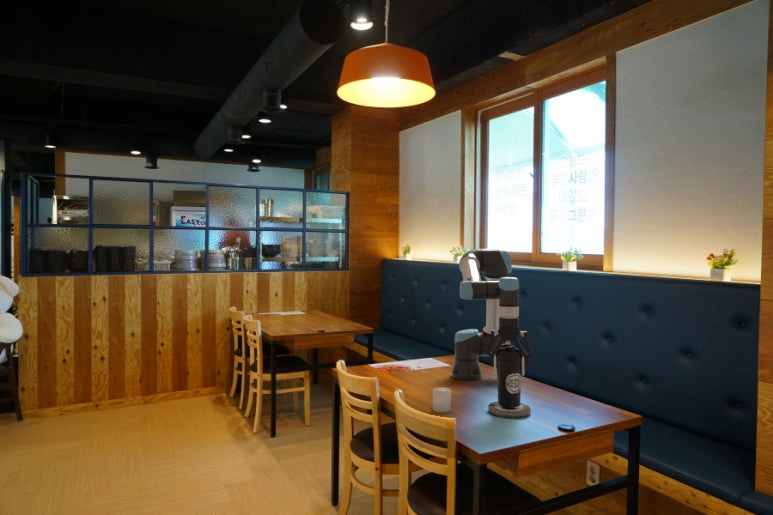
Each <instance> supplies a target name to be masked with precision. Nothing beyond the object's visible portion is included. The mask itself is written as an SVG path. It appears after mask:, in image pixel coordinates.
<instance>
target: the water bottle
mask: <svg viewBox="0 0 773 515" xmlns="http://www.w3.org/2000/svg"><path fill="white" fill-rule="evenodd" d="M523 357H524V356H523V355H522V353H521V351H520V349H519V348H518V346H517V345H511V343H510V344H501V345H500V349H499V350H498V351H497V352H496V376H497V377H496V380H497V383H496V385H497V402H498V404H499V405H501V406H504V407H518V406H520V403H521V396H522V395H521V394H522V358H523Z"/></svg>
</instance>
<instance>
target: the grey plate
mask: <svg viewBox="0 0 773 515" xmlns="http://www.w3.org/2000/svg"><path fill="white" fill-rule="evenodd" d="M487 409H488V410H487V411H488V413H489V414H490V415H491V416H494V417H497V418H501V419H511V420H519V419H520V420H521V419H526V418H528V417H530V416H531V411H532V410H531V407H530V405H528V404H526V403H524V402H520V406H518V407H504V406H501V405H499V404H498V401H494V402H490V403H489V404H488V408H487Z"/></svg>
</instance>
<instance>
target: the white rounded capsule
mask: <svg viewBox="0 0 773 515" xmlns="http://www.w3.org/2000/svg"><path fill="white" fill-rule="evenodd" d="M451 396H452V394H451V388H448V387H440V386H439V387H434V388H433V389H432V411H434V412H436V413H443V414H444V413H449V412H451V410H452V409H451V408H452V407H451V406H452V403H451V402H452V401H451V400H452V397H451Z"/></svg>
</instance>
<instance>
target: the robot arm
mask: <svg viewBox="0 0 773 515" xmlns="http://www.w3.org/2000/svg"><path fill="white" fill-rule="evenodd" d="M458 267H459V270H460V273H461V274H462V281H460V283H459V296H460V298H461V299H462V300H467V301H468V300H469V301H470V300H486V301H485V302H486V304H485V305H486V307H485V308H486V309H485V311H486V312H485V313H486V315H485V316H486V317H485V326H484V327H483V328H482V332H479V329H477V328H468V329H463V330H458V331H457V332H456V333H455V334H454V340H453V341H454V363H453V367H452V369H451V378H453V379H454V380H455V379H456V380H461V381H476V380H480V379H482V378H483V372H482V369H481V365H480V362H479V357H490V365H491V366H493V374H494V375H497V359H496V352H497V351H498V350H499V349H500V345H501V344H510V345H511V342H514V343H515V344H516V346H518V348H517V349H519V350H520V351H521V353H522V355H523V358H522V365H521V377H522V376H523V377H524V376H525V367H528V359H529V358H532V357H533V353H532V350H531V346H530V343H529V340H528V331H527V330H524V331H523V330H520V319H519V316H520V314H519V313H520V306H519V301H520V299H519V298H520V297H519V293H520V291H519V290H520V284H519V282H520V281H519V279H518V278H517V277H513V276H509V274H511V273H512V272H513V270H512V269H513V267H512V260H511V254H510V252H509V250H508V249H506V248H499V247H498V248H495V247H494V248H475V249H471V250H469V251H467V252H465V253H463V255H462V256H461V258H460V259H459V262H458ZM481 274H483V277H484V279H485V280H482V279H481V278H482V276H481ZM520 335H521V337H522V338H523V340H524V344H525V346H526V347H525V348H526V350H527V353H526V351H525V349H524V347H523V346H522V344H521V342H520V341H519V336H520Z"/></svg>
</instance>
